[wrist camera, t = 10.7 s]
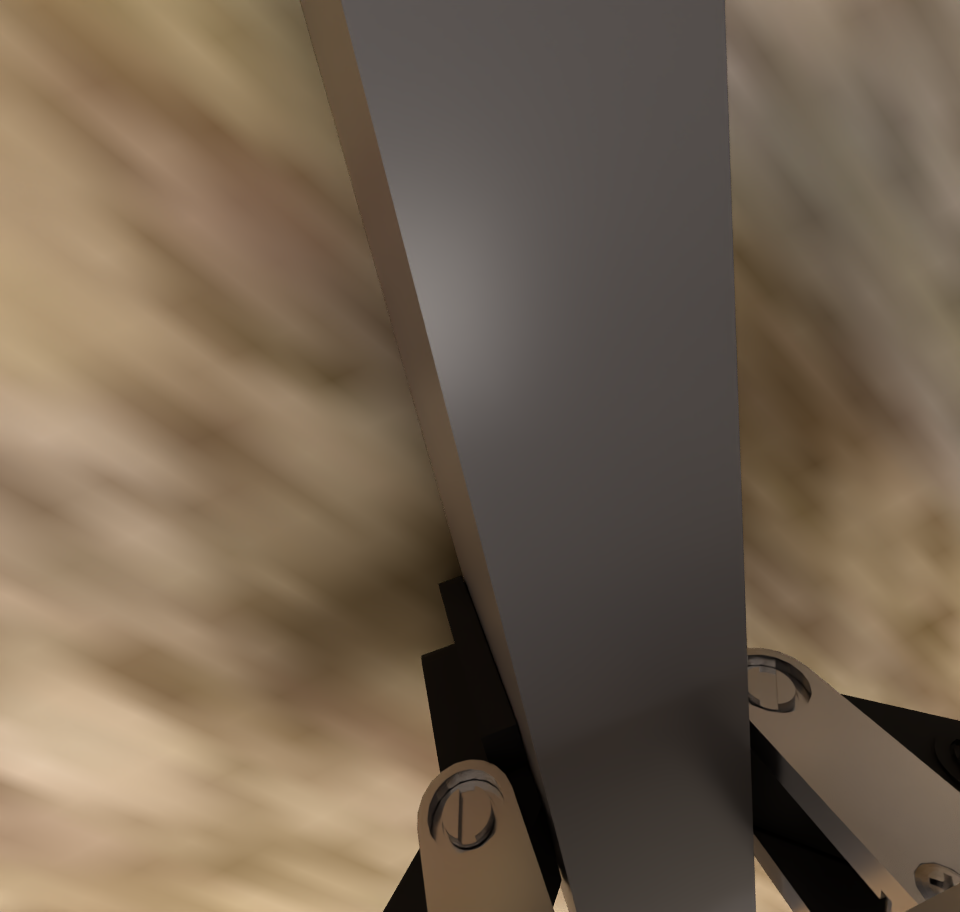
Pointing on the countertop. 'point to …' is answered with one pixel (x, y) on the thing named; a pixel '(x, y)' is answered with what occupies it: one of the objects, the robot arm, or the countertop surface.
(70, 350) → the countertop surface
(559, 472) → the dark grey bar
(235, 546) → the countertop surface
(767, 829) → the robot arm
